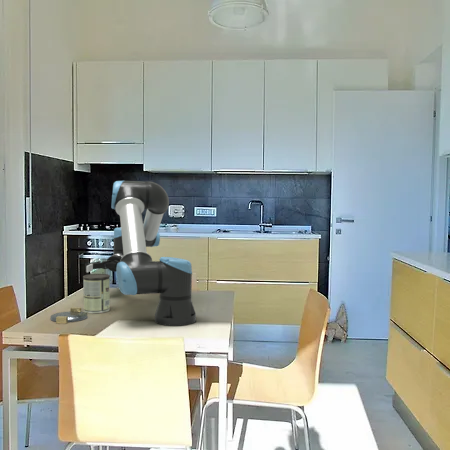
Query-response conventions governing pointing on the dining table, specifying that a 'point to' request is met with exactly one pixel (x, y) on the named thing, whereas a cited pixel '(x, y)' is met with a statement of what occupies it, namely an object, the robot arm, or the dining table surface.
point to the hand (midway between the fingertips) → (103, 269)
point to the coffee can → (96, 293)
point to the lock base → (69, 316)
